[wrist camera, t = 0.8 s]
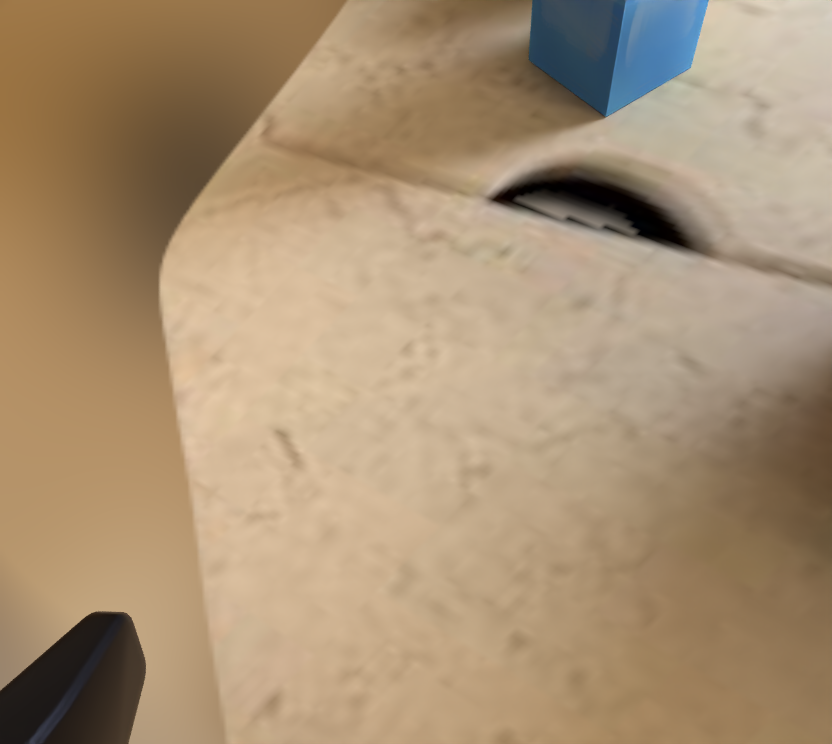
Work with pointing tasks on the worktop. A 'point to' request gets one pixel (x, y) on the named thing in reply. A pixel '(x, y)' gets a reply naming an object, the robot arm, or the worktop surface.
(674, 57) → the perfume bottle
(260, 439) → the worktop surface
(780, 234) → the worktop surface
